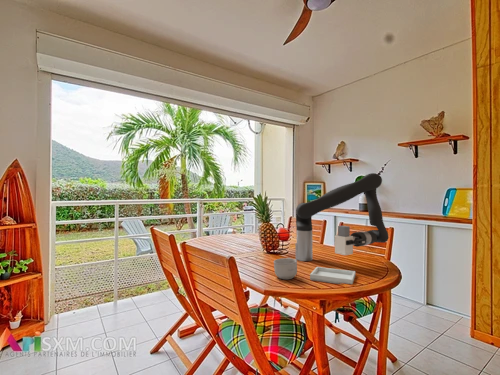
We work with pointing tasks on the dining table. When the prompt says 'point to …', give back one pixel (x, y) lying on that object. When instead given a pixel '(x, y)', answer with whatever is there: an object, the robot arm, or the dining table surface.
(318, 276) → the tray
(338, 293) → the dining table surface
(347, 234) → the block
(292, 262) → the teacup
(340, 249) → the beige rectangular block
